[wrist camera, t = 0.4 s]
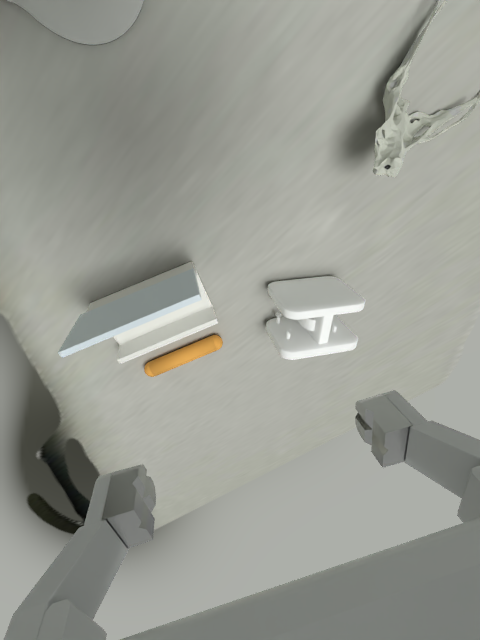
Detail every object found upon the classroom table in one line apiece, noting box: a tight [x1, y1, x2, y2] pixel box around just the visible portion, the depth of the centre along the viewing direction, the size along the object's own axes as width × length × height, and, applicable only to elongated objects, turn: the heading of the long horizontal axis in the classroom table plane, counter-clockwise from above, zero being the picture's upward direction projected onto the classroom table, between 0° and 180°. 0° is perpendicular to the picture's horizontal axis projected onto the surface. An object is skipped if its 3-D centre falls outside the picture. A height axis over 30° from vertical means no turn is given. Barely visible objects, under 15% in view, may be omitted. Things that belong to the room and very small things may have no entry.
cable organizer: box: [266, 276, 365, 360], centre depth 52 cm, size 15×11×12 cm
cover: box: [58, 268, 202, 358], centre depth 39 cm, size 10×18×1 cm
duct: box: [87, 261, 218, 364], centre depth 48 cm, size 10×18×5 cm, turn 109°
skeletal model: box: [373, 0, 480, 178], centre depth 38 cm, size 16×9×25 cm
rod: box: [144, 335, 223, 377], centre depth 56 cm, size 3×16×3 cm, turn 109°
